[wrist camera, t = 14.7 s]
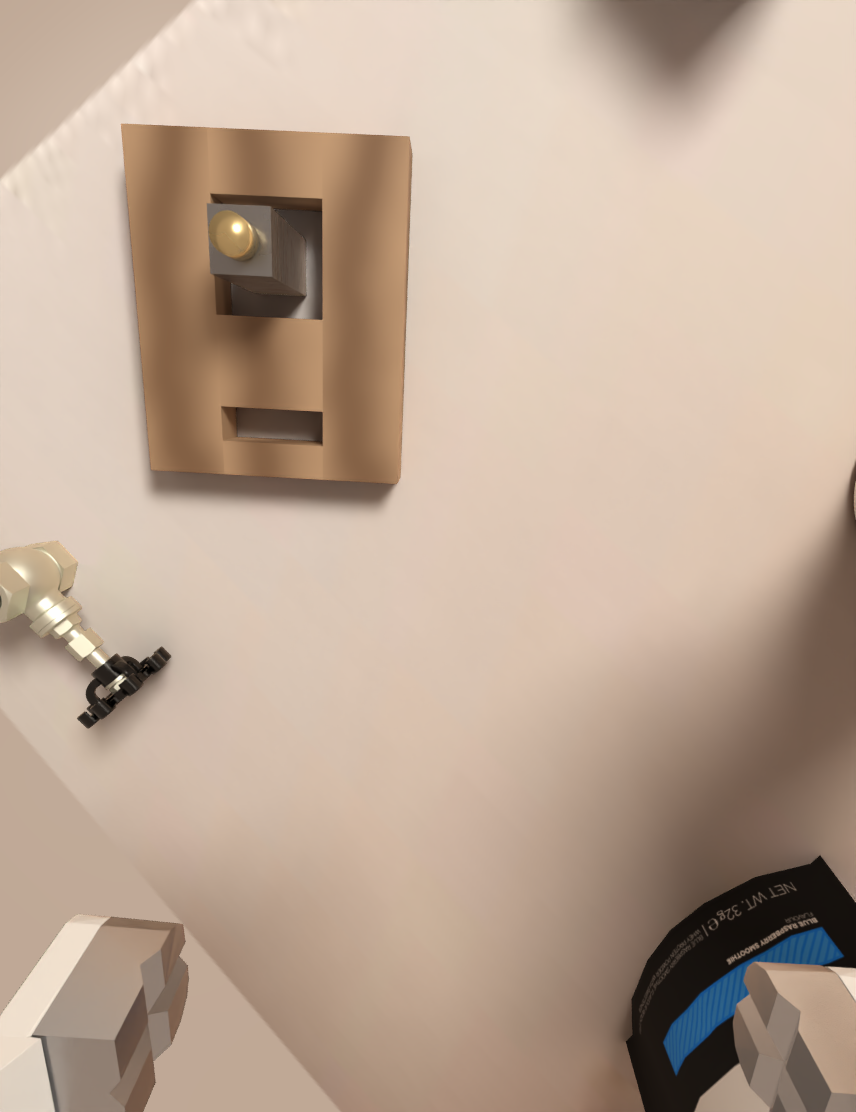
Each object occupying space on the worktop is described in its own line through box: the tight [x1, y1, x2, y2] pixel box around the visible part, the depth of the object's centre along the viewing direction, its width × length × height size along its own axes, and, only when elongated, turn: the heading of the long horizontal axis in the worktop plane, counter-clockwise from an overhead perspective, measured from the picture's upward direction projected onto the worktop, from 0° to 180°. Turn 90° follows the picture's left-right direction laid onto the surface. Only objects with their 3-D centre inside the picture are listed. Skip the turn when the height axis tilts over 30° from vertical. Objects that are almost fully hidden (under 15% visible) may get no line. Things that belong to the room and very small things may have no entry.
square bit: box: [207, 203, 306, 296], centre depth 30 cm, size 3×3×8 cm
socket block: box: [121, 124, 412, 484], centre depth 34 cm, size 15×18×2 cm
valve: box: [0, 541, 171, 728], centre depth 38 cm, size 7×7×12 cm
